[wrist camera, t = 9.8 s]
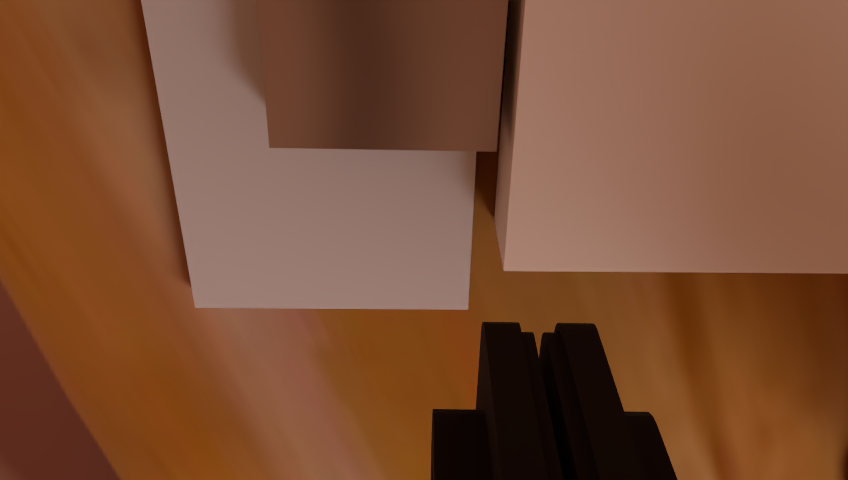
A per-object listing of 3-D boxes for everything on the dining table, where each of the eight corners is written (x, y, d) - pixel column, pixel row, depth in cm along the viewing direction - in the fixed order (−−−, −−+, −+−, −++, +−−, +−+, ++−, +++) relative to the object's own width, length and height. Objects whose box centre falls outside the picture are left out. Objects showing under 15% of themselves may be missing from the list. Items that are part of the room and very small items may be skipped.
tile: (502, -41, 25) (510, -26, 23) (490, 125, 28) (496, 151, 26) (266, -45, 25) (253, -31, 23) (280, 121, 28) (269, 147, 26)
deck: (1088, -214, 24) (1200, -215, 20) (912, 223, 32) (972, 274, 29) (525, -222, 24) (543, -226, 20) (494, 219, 32) (503, 271, 28)
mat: (490, -152, 25) (492, -150, 24) (466, 296, 34) (467, 309, 33) (124, -158, 24) (113, -156, 24) (200, 294, 34) (195, 307, 33)
